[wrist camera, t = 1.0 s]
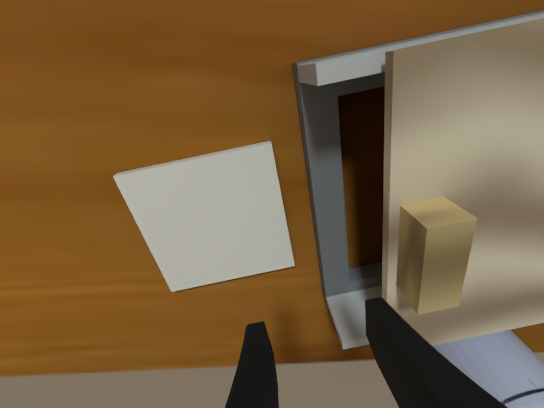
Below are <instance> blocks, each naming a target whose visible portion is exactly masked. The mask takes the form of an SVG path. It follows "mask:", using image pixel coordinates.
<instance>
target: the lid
mask: <svg viewBox="0 0 544 408" xmlns="http://www.w3.org/2000/svg"><path fill="white" fill-rule="evenodd" d="M382 298H384V300H385V301H386V302H387V303H388V304H389V305H390V306H391V307H392V308H393V309H394V310H395V311H396V312H397V313H398V314H399V315H400V316H401V317H402V318H403V319H404V320H405V321H406V322H407V323H408V324H409V325H410V326H411V327H412V328H413V329H414V330H415V331H417V332H418V333H419V334H420V335H421V336H422V337H423V338H424V339H425V340H426V341H427V342H428V343H430V344H431V345H432V346H433V345H438V344H443V343H447V342H452V341H457V340H462V339H467V338H472V337H476V336H481V335H486V334H491V333H496V332H500V331H505V330H510V329H515V328H520V327H524V326H529V325H534V324H539V323H544V18H543V19H538V20H534V21H529V22H524V23H519V24H515V25H510V26H505V27H501V28H496V29H491V30H486V31H482V32H477V33H472V34H468V35H463V36H458V37H453V38H449V39H444V40H439V41H435V42H430V43H425V44H421V45H416V46H411V47H406V48H402V49H397V50H392V51H388V52H385V114H384V183H383V252H382Z"/></svg>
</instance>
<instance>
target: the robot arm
mask: <svg viewBox="0 0 544 408" xmlns="http://www.w3.org/2000/svg"><path fill="white" fill-rule="evenodd" d="M365 319H366V336H367V339H368V341H369V344H370V347H371V349H372V352H373V354H374V357H375V359H376V362H377V364H378V366H379V368H380V370H381V372H382V374H383V376H384V378H385V380H386V382H387V384H388V386H389V388H390V390H391V392H392V394H393V396H394V398H395V400H396V402H397V404H398V406H399V408H544V363H543V362H542V361H541V360H540V359H539V358H538V357H537V356H536V355H535V354H534V353H533V352H532V351H531V350H530V349H529V348H528V347H527V346H526V345H525V344H524V343H523V342H522V341H521V340H520V339H519V338H518V337H517V336H516V335H515V334H514V333H513V332H512V331H511V330H505V331H500V332H496V333H491V334H486V335H481V336H476V337H472V338H467V339H462V340H457V341H452V342H447V343H443V344H438V345H433V346H432V345H431V344H430V343H428V342H427V341H426V340H425V339H424V338H423V337H422V336H421V335H420V334H419V333H418V332H417V331H415V330H414V329H413V328H412V327H411V326H410V325H409V324H408V323H407V322H406V321H405V320H404V319H403V318H402V317H401V316H400V315H399V314H398V313H397V312H396V311H395V310H394V309H393V308H392V307H391V306H390V305H389V304H388V303H387V302H386V301H385V300H384V298H382V297H378V298H373V299H368V300H365ZM225 408H279V404H278V383H277V375H276V368H275V360H274V353H273V350H272V347H271V343H270V340H269V337H268V333H267V330H266V327H265V323H264V321H262V322H258V323H253V324H248V325H247V326H246V330H245V336H244V341H243V346H242V350H241V355H240V359H239V363H238V366H237V370H236V374H235V377H234V380H233V384H232V387H231V391H230V394H229V397H228V400H227V403H226V406H225Z"/></svg>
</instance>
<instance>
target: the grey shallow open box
mask: <svg viewBox="0 0 544 408" xmlns="http://www.w3.org/2000/svg"><path fill="white" fill-rule="evenodd" d="M543 18H544V10H543V11H538V12H534V13H529V14H524V15H520V16H515V17H510V18H505V19H501V20H496V21H491V22H487V23H482V24H477V25H473V26H468V27H463V28H458V29H454V30H449V31H444V32H440V33H435V34H430V35H425V36H421V37H416V38H411V39H407V40H402V41H397V42H393V43H388V44H383V45H378V46H374V47H369V48H364V49H360V50H355V51H350V52H345V53H341V54H336V55H331V56H327V57H322V58H317V59H313V60H308V61H303V62H298V63H294V64H292V67H293V74H294V82H295V89H296V97H297V104H298V112H299V119H300V127H301V134H302V142H303V149H304V157H305V164H306V172H307V179H308V187H309V194H310V202H311V209H312V217H313V224H314V232H315V239H316V247H317V254H318V262H319V269H320V277H321V284H322V291H323V294H324V297H325V300H326V303H327V305H328V308H329V311H330V314H331V317H332V319H333V322H334V325H335V328H336V331H337V334H338V336H339V339H340V342H341V345H342V348H343V350H344V349H349V348H353V347H358V346H363V345H368V344H369V341H368V339H367V336H366V319H365V300H368V299H373V298H378V297H382V262H377V263H373V264H368V265H363V266H358V267H353V268H349V265H348V250H347V234H346V219H345V203H344V188H343V172H342V156H341V141H340V125H339V110H338V96H341V95H346V94H351V93H356V92H360V91H365V90H370V89H374V88H379V87H384V86H385V52H388V51H392V50H397V49H402V48H406V47H411V46H416V45H421V44H425V43H430V42H435V41H439V40H444V39H449V38H453V37H458V36H463V35H468V34H472V33H477V32H482V31H486V30H491V29H496V28H501V27H505V26H510V25H515V24H519V23H524V22H529V21H534V20H538V19H543Z"/></svg>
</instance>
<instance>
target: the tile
mask: <svg viewBox="0 0 544 408" xmlns="http://www.w3.org/2000/svg"><path fill="white" fill-rule="evenodd" d="M113 178H114V180H115V182H116V184H117V186H118V188H119V190H120V192H121V194H122V196H123V198H124V200H125V201H126V203H127V205H128V207H129V209H130V211H131V213H132V215H133V217H134V219H135V221H136V223H137V225H138V227H139V229H140V231H141V233H142V235H143V237H144V239H145V241H146V243H147V245H148V247H149V249H150V251H151V253H152V255H153V256H154V258H155V260H156V262H157V264H158V266H159V268H160V270H161V272H162V274H163V276H164V278H165V280H166V282H167V284H168V286H169V288H170V290H171V292H174V291H178V290H183V289H188V288H193V287H198V286H202V285H207V284H212V283H217V282H221V281H226V280H231V279H236V278H241V277H245V276H250V275H255V274H260V273H264V272H269V271H274V270H279V269H284V268H288V267H293V266H295V264H294V259H293V253H292V248H291V243H290V238H289V232H288V227H287V222H286V217H285V211H284V206H283V201H282V196H281V190H280V185H279V180H278V174H277V169H276V164H275V159H274V153H273V148H272V143H271V141H267V142H262V143H257V144H252V145H248V146H243V147H238V148H233V149H229V150H224V151H219V152H215V153H210V154H205V155H200V156H196V157H191V158H186V159H181V160H177V161H172V162H167V163H162V164H158V165H153V166H148V167H144V168H139V169H134V170H129V171H125V172H120V173H117V174H115V175H114V176H113Z"/></svg>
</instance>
